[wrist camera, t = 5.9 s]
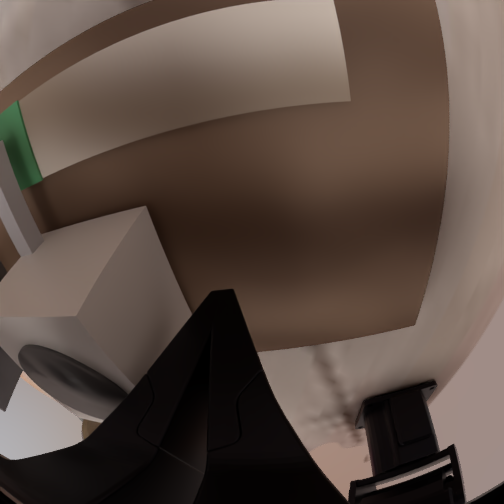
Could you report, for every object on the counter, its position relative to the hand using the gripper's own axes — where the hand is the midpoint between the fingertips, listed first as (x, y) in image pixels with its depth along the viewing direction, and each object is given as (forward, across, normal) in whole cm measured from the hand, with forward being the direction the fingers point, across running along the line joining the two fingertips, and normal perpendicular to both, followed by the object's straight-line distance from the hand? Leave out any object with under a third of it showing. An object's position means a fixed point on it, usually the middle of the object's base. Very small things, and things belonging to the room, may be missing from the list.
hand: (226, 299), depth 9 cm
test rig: (+2, +4, -2) cm, 5 cm away
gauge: (+1, +6, -2) cm, 6 cm away
